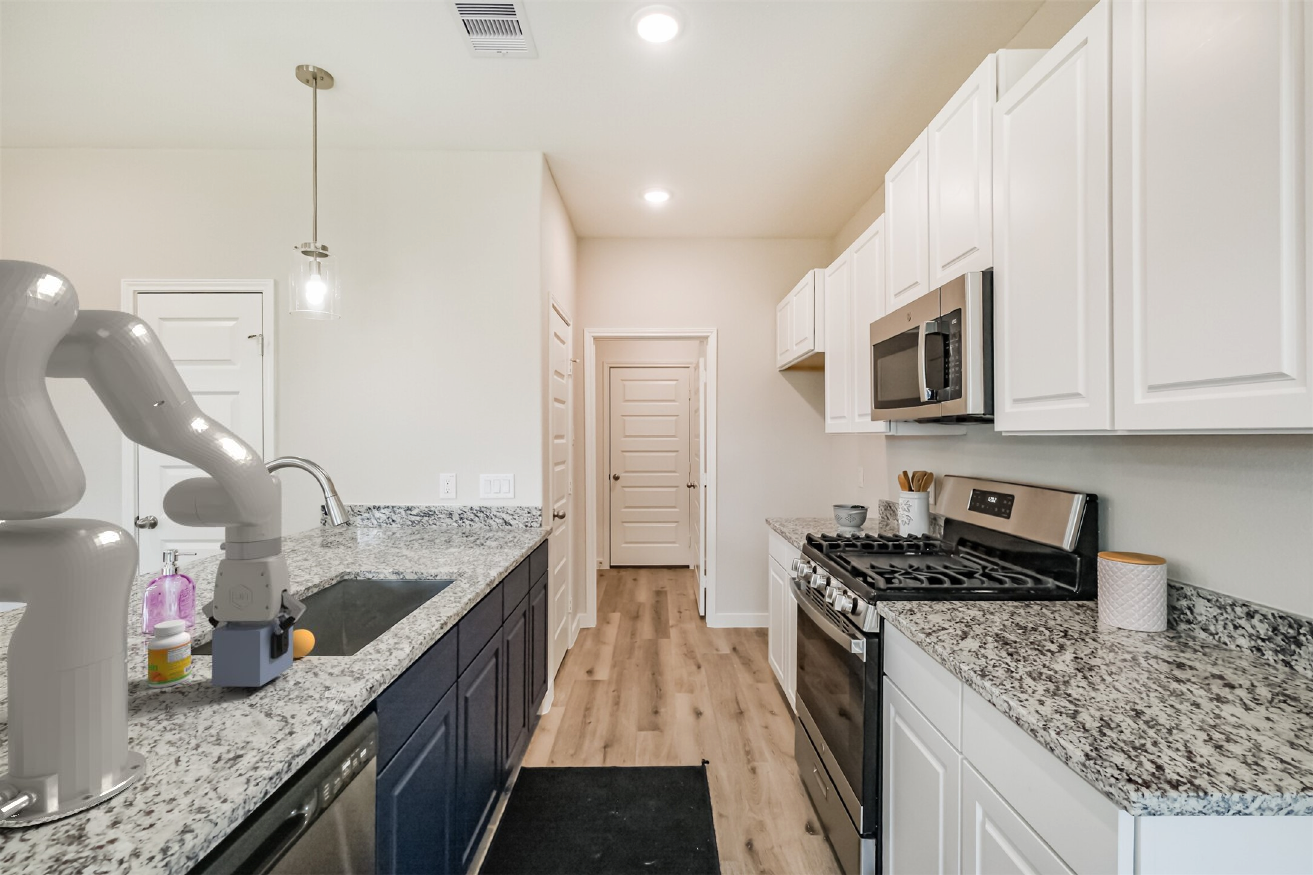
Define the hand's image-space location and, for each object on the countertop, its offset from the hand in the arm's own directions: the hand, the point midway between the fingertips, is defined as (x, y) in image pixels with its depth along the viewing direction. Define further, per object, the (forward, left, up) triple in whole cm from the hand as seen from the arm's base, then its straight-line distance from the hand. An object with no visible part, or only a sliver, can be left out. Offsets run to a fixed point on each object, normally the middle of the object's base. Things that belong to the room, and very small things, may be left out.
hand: (254, 654), depth 91 cm
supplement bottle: (+1, +15, -5) cm, 16 cm away
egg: (+11, 0, -2) cm, 11 cm away
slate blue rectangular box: (0, 0, -3) cm, 3 cm away
